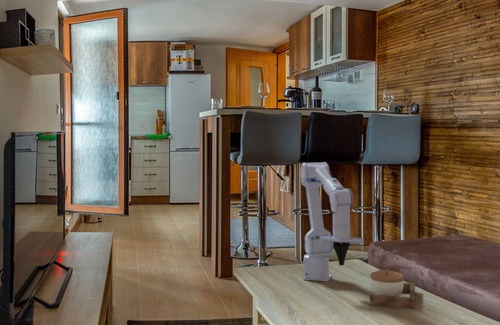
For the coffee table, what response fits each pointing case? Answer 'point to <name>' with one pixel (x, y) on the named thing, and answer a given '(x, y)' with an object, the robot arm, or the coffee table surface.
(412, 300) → the walnut shelf
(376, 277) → the lidded jar
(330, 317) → the coffee table surface
